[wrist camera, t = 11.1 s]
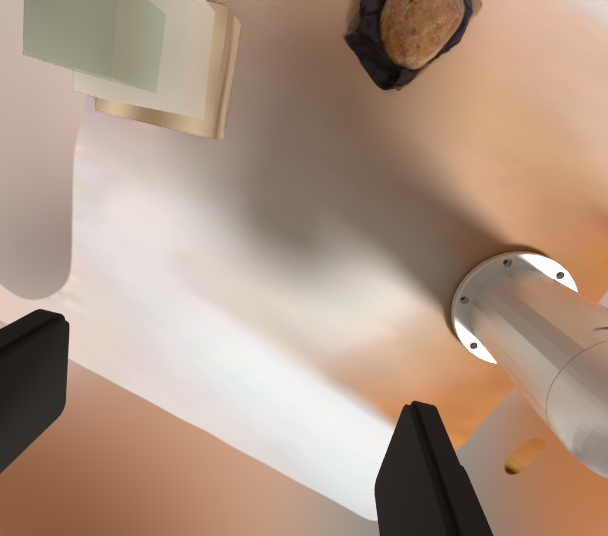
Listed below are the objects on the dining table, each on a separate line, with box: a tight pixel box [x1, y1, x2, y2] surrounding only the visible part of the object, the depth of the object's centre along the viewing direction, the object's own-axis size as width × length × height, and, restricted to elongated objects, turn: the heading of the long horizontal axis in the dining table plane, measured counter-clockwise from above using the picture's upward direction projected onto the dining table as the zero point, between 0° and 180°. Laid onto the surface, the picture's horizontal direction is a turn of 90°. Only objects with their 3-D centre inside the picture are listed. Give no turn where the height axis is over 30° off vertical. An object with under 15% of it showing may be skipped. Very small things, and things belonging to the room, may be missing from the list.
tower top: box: [73, 0, 215, 119], centre depth 28 cm, size 8×8×5 cm
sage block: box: [23, 0, 166, 93], centre depth 23 cm, size 5×5×6 cm
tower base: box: [95, 1, 241, 140], centre depth 33 cm, size 10×10×5 cm
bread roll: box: [344, 0, 482, 91], centre depth 32 cm, size 11×8×4 cm
